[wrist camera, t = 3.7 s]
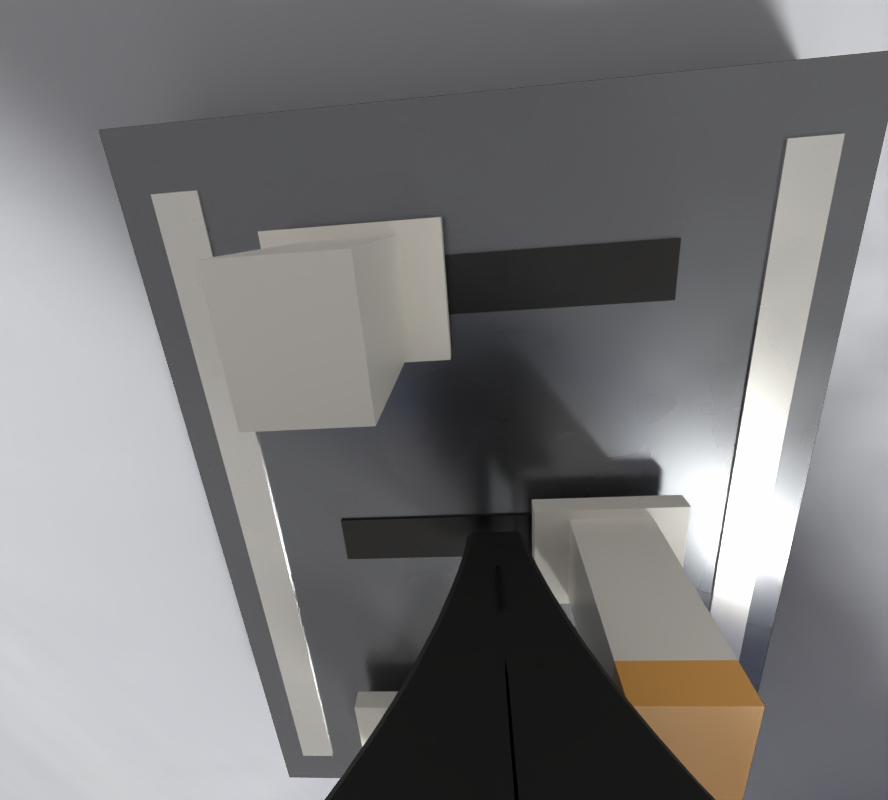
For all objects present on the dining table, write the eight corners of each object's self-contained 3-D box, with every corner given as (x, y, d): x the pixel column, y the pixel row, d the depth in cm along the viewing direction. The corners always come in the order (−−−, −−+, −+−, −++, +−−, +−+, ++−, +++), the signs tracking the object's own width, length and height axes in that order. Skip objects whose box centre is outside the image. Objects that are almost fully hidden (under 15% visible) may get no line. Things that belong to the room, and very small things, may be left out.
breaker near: (442, 216, 7) (419, 219, 4) (451, 352, 8) (438, 440, 5) (267, 230, 8) (124, 242, 4) (293, 362, 8) (186, 451, 5)
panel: (809, 85, 9) (907, 47, 7) (702, 709, 14) (737, 785, 12) (171, 145, 9) (96, 129, 8) (312, 708, 15) (289, 779, 13)
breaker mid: (682, 495, 9) (830, 694, 5) (670, 587, 10) (793, 816, 6) (531, 499, 9) (571, 694, 5) (532, 589, 10) (568, 813, 6)
